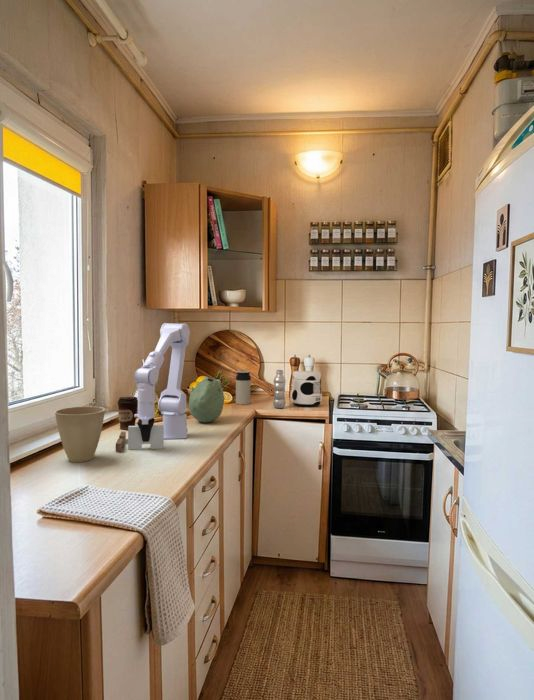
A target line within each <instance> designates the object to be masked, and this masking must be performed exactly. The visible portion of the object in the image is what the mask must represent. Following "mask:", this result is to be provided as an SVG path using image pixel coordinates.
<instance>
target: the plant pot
mask: <svg viewBox="0 0 534 700" xmlns="http://www.w3.org/2000/svg"><path fill="white" fill-rule="evenodd" d="M105 413H106V409H105V407H102V406H91V405H90V406H84V405H83V406H73V407H65V408H59V409H56V410H55V411H54V414H55V420H56V425H57V431H58V434H59V438H60V441H61V444H62V447H63V450H64V453H65V455H66V457H67V460H68V461H69V462H71V463H80V462H81V463H82V462H83V463H84V462H88V461H91V460H93V458H94V457H95V454H96V451H97V448H98V445H99V441H100V438H101V435H102V434H101V433H102V429H103V425H104V420H105Z"/></svg>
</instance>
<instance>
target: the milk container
mask: <svg viewBox="0 0 534 700" xmlns="http://www.w3.org/2000/svg"><path fill="white" fill-rule="evenodd" d="M321 385H322V373H321V372H320V371H316V370H315V371H314V370H295V371H293V372H292V385H291V391H290V402H291V403H292V404H294V405H296V406H301V407H316V406H319V405H320V404H321V403H322V400H323V394H322V388H321V387H322V386H321Z"/></svg>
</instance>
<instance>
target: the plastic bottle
mask: <svg viewBox="0 0 534 700" xmlns="http://www.w3.org/2000/svg"><path fill="white" fill-rule="evenodd" d="M275 372H276V373H275V374H276V375H275V376H274V379H273V389H274V394H273V402H272V405H273V407H274V408H275V409H283V408H285V406H286V399H285V390H286V389H285V388H286V381H287V380H286V377H285V376H284V370H282V369H276V371H275Z"/></svg>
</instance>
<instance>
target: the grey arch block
mask: <svg viewBox="0 0 534 700" xmlns="http://www.w3.org/2000/svg"><path fill="white" fill-rule="evenodd" d="M127 431H128V432H127V434H128V435H127V436H128V437H127V439H128V440H127V448H128V450H129V449H134V450H142V448H143V447H142V446H143V445H149V446H150V448H149V449H150V450H154V449H155V450H158V449H159V450H160V449H164V448H165V447H164V440H165V439H164V425H163V424H157V425H154V424H153V426H152V429H151V433H150V439H149V442H143V441H142V436H141V431H140V428H139V426H138V425H135V426H128V429H127ZM129 451H130V450H129Z"/></svg>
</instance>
